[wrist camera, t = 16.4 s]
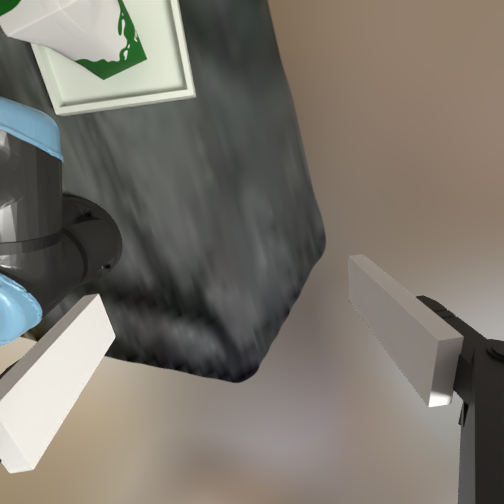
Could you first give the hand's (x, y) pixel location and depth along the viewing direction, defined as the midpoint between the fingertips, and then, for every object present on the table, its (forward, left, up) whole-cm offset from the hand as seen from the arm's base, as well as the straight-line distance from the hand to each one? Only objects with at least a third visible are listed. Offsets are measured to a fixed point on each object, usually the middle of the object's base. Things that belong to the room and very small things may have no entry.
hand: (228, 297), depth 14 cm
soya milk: (-13, +23, -34) cm, 43 cm away
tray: (-13, +23, -35) cm, 44 cm away
